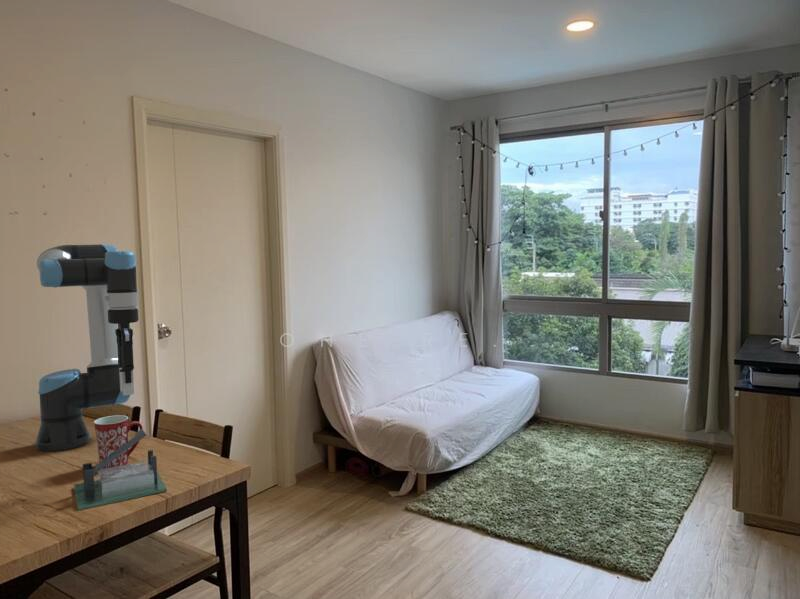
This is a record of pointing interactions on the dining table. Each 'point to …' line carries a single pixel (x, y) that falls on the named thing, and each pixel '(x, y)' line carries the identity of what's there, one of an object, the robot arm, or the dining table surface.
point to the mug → (113, 438)
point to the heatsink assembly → (119, 483)
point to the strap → (120, 450)
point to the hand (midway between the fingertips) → (127, 392)
